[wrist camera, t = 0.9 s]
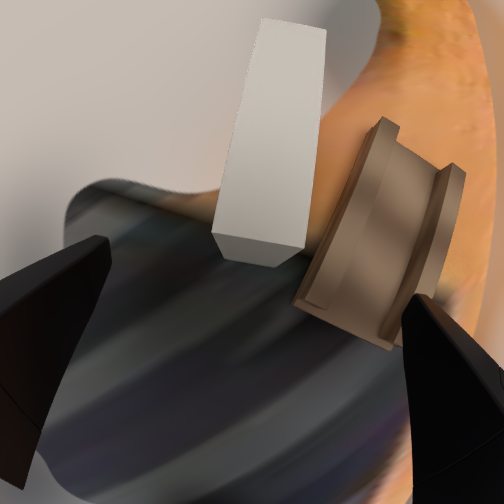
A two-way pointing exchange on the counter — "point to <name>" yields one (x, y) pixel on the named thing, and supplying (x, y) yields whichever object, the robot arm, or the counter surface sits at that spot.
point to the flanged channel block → (382, 240)
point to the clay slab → (273, 147)
